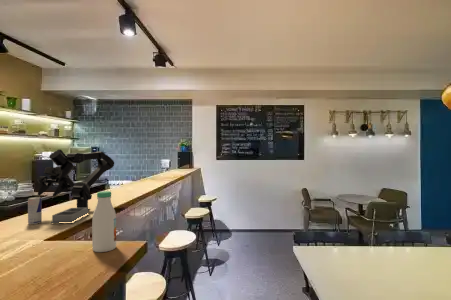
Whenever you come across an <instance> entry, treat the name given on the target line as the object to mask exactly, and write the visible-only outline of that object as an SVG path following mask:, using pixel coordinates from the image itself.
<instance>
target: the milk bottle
mask: <svg viewBox="0 0 451 300" xmlns="http://www.w3.org/2000/svg"><path fill="white" fill-rule="evenodd" d="M96 196H97V197H96V198H97V203H96V206H95V208H94V211H93V214H92V220H91V221H92V222H91V223H92V226H91V227H92V228H91V231H92V233H91V235H92V240H91V241H92V244H91V245H92V246H91V247H92V251H93V252H95V253H104V252H110V251H113V250H115V249H116V247H117V214H116V210H115V208H114V206H113V204H112V201H111V200H112V199H111V198H112V191H107V190H106V191H105V190H104V191H97V193H96Z"/></svg>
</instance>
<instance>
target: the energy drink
mask: <svg viewBox="0 0 451 300" xmlns="http://www.w3.org/2000/svg"><path fill="white" fill-rule="evenodd" d="M42 204H43V203H42V197H40V196H34V197H29V198H28V199H27V223H28V225H30V224H34V225H38V224H37V223H39V224H41V223H42V222H43V220H42V219H43V218H42V217H43V215H42V213H43V212H42V211H43V210H42ZM40 222H41V223H40Z"/></svg>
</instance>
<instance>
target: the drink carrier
mask: <svg viewBox="0 0 451 300" xmlns="http://www.w3.org/2000/svg"><path fill="white" fill-rule="evenodd" d="M88 208H89V207H88ZM88 208H77V207H69V208H66V209H65V210H62V211H60V212H58V213H55V214H53V215H52V217H51V218H52V219H51V222H50V224H51V223H59V222H72V221H74V220H76V219H77V218H79V217H81V216H83V215H85V214H87V213H89V210H88Z"/></svg>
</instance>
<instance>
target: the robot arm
mask: <svg viewBox="0 0 451 300" xmlns="http://www.w3.org/2000/svg"><path fill="white" fill-rule="evenodd" d="M48 158H49V159H50V160H51V161H52V162H53V163H54V165H56V166H46V167H45V169H44V171H43V174H46V175H48V176H38V178H37V179H36V180H37V182H38V184H39V188H38V191H37V196H38V197H40V196H41V195H43V194H44V193H45V192H46V191H47V190H49V188H50V187H51V186H52V184H55V185H57V187H56V188H55V190H54V192H53V193H52V197H56V196H58V195H59V194H61V193H63V192H65V191H67V190H70V189H71V190H70V192H71V196H72V199H73V200H76V208H89V200H92V198H93V197H92V196H93V195H92V194H91V193H90V190H91V187H92V186H93V185H94V184H95V183H96V182H97V181H98V179H99V178H101V176H102V175H103V174H104V173H105V172H108V171H110V170H111V169H112V168H114V167H115V161H114V159H112V158H111V156H109V155H107V154H106V153H105V152H104V151H93V152H86V153H82V152H68V153H67V154H65V153H64V152H63V150H62V149H57V150H56V151H53V152H51V154H49V156H48ZM94 159H96V161H97V163H98V164H97V167H96V168H95V169H94V170H93V171H92V173H90V174H89V176H88V177H87V178H86V179H85V180H83V182H77V183H75V182H74V181H73V180H72V179H71V178H70V174H71V172H72V171H77V167H76V165H74V164H80V163H81V164H82V163H83V162H84V161H89V160H94Z"/></svg>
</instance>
